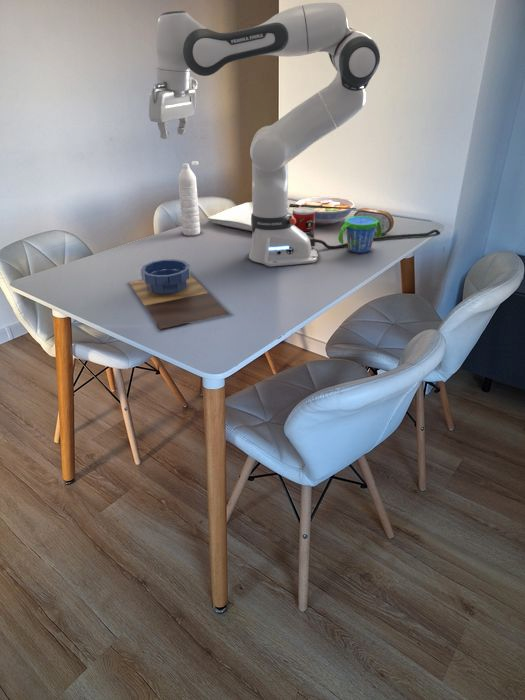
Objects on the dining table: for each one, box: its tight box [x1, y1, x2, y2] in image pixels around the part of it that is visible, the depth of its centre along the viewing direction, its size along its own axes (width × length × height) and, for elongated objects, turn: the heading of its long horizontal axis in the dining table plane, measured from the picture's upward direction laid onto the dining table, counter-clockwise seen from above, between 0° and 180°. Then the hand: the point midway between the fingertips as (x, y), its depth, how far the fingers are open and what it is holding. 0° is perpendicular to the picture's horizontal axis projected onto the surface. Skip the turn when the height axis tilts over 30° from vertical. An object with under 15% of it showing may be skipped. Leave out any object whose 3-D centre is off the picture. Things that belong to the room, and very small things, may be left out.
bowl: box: [140, 258, 191, 294], centre depth 144 cm, size 13×13×6 cm
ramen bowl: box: [288, 196, 357, 226], centre depth 199 cm, size 25×23×8 cm
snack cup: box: [338, 215, 382, 254], centre depth 170 cm, size 16×10×10 cm
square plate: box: [206, 201, 294, 232], centre depth 201 cm, size 27×27×4 cm
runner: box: [128, 274, 209, 306], centre depth 146 cm, size 18×18×1 cm
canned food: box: [292, 207, 316, 238], centre depth 179 cm, size 8×8×11 cm
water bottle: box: [177, 160, 201, 237], centre depth 186 cm, size 9×6×25 cm
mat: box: [144, 292, 230, 331], centre depth 133 cm, size 15×18×1 cm
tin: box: [353, 207, 395, 236], centre depth 187 cm, size 15×3×8 cm, turn 58°
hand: (173, 136), depth 146 cm, fingers open, 8 cm apart
